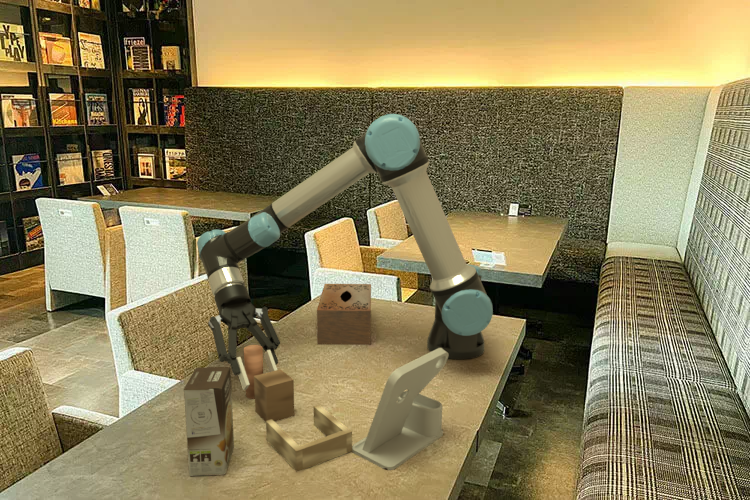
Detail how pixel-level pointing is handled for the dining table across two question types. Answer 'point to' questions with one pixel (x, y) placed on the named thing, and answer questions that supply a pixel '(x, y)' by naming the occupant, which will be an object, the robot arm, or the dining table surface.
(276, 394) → the block
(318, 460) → the wooden u-shaped frame
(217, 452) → the coffee box
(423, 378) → the phone holder
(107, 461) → the dining table surface
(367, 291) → the tissue box cover
